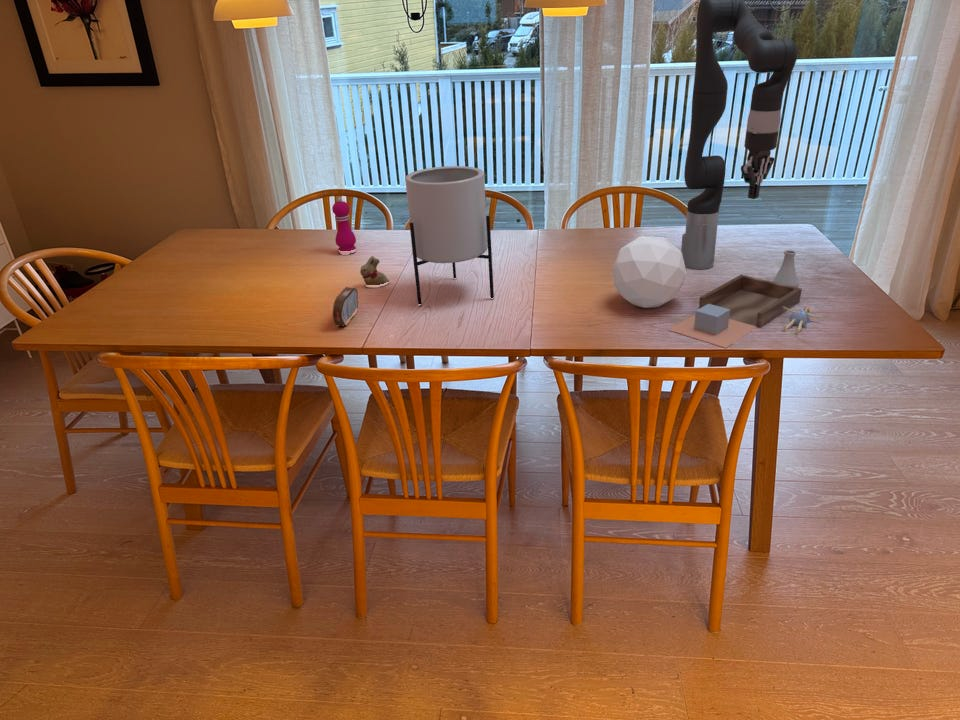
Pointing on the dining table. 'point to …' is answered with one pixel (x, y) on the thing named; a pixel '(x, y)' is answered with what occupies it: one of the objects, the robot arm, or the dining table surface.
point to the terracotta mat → (721, 339)
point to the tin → (345, 305)
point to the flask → (787, 270)
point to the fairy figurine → (799, 318)
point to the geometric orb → (649, 271)
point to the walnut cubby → (752, 299)
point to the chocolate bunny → (372, 273)
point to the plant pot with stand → (448, 217)
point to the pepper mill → (343, 226)
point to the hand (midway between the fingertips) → (752, 198)
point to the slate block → (712, 319)
